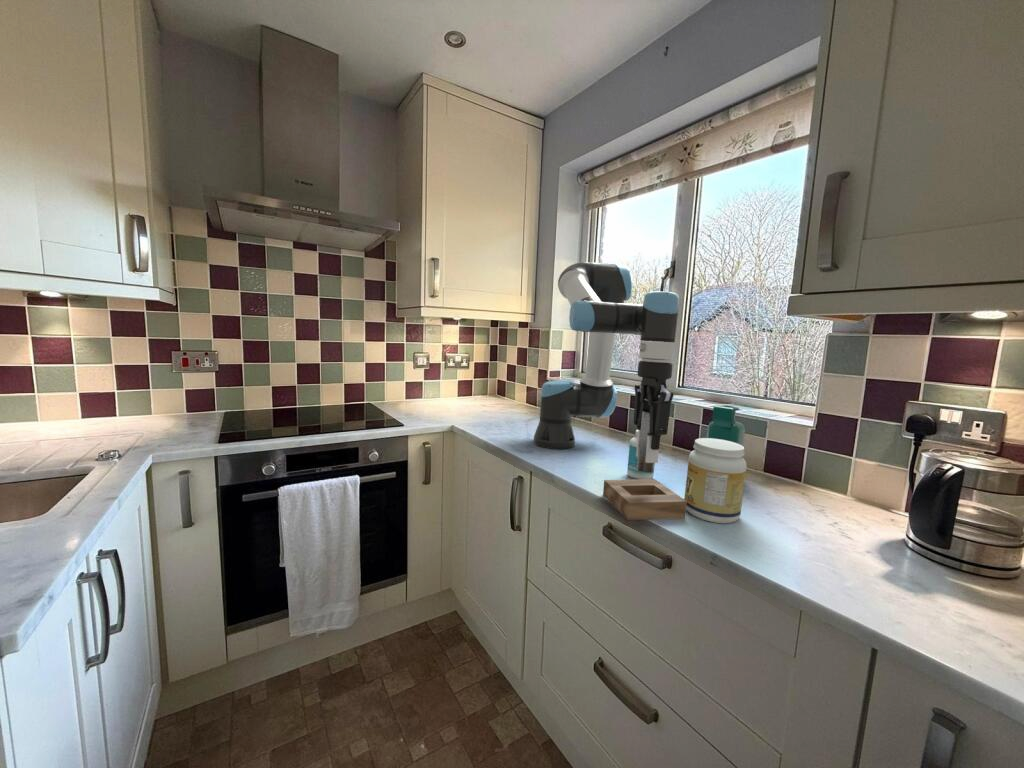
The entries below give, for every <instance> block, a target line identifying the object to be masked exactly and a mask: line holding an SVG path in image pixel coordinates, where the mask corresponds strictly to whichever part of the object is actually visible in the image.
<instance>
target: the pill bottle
mask: <svg viewBox="0 0 1024 768" xmlns="http://www.w3.org/2000/svg"><path fill="white" fill-rule="evenodd" d="M637 440H638V429H636V430H635V436H634V437H632V438H631V439H630V440H629V447H628V448H629V449H628V456H627V457H628V461H627V471H626V473H627V476H629V477H630V478H631V479H634V480H636V479H654V476H655V475H654V474H655V471H654V472H652V473H646V472H641V471H639V470H637V463H638V457H637V456H636V451H637ZM655 465H656V463H654V467H655Z"/></svg>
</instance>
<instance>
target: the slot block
mask: <svg viewBox="0 0 1024 768" xmlns="http://www.w3.org/2000/svg"><path fill="white" fill-rule="evenodd" d="M602 491H603V492H602V496H603V497H604V498H605V499H606V500H607V501H608V502H609V503H610V504H611V505H612V506H613V507H614V508H615V509H616V510H617V511H618V512H619V513H620V514H621V515H622V516H623V517H624V518H625V519H626V520H627V521H640V520H647V521H648V520H669V519H671V520H672V519H686V514H687V510H686V506H687V501H686V500H684V498H683V497H681V496H680V495H678V494H677V492H674V491H672V489H670V488H669V487H667V486H666V485H664V484H663V483H661V482H660V481H658V480H657V479H656V478H655V479H654V478H652V479H604V480H603V490H602Z"/></svg>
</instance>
